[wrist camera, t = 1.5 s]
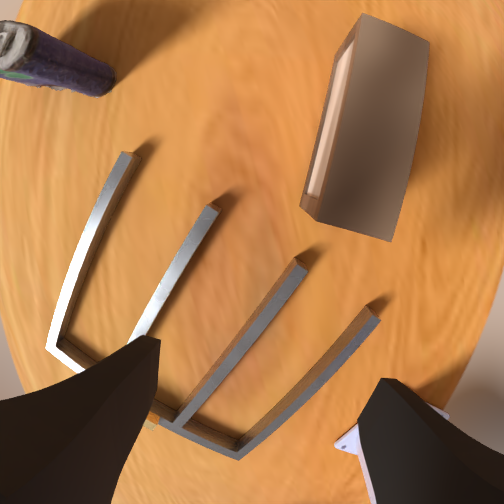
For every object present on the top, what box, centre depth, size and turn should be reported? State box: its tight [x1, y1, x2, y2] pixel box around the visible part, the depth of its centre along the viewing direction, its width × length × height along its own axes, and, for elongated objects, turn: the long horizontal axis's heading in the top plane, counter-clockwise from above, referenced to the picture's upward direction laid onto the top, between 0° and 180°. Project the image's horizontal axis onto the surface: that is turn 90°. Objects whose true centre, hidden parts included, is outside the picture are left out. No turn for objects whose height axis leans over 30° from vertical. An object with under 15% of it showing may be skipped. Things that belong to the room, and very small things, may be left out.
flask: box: [0, 20, 116, 98], centre depth 11 cm, size 9×3×11 cm, turn 68°
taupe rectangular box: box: [299, 13, 430, 242], centre depth 14 cm, size 4×10×6 cm, turn 166°
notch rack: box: [46, 151, 381, 461], centre depth 19 cm, size 19×17×2 cm
